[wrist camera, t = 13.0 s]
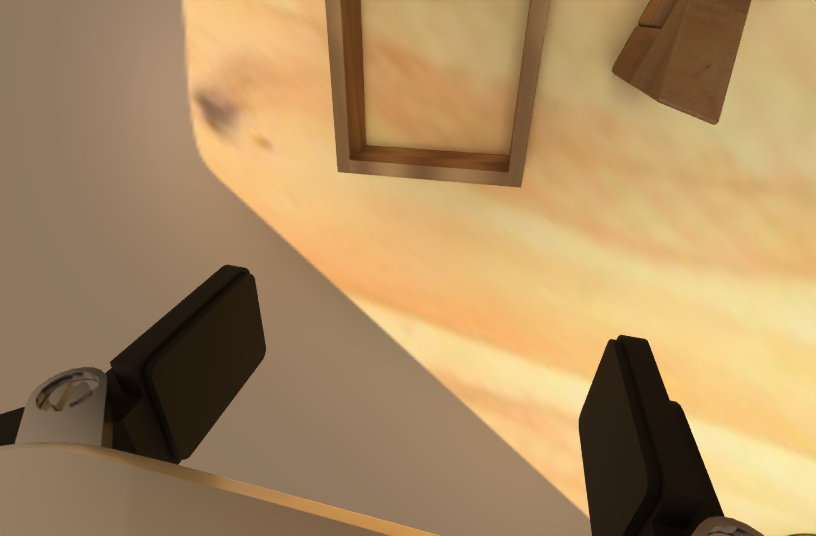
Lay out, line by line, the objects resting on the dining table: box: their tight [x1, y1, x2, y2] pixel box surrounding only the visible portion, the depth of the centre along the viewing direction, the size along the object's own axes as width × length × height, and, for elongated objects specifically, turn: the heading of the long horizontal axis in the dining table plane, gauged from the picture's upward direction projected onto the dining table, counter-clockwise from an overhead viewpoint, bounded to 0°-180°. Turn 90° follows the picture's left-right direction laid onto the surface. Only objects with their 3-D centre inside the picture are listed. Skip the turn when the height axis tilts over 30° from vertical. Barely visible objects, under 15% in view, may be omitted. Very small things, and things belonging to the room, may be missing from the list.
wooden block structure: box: [612, 0, 751, 125], centre depth 25 cm, size 4×11×18 cm, turn 161°
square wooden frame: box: [325, 0, 550, 187], centre depth 36 cm, size 16×16×5 cm
